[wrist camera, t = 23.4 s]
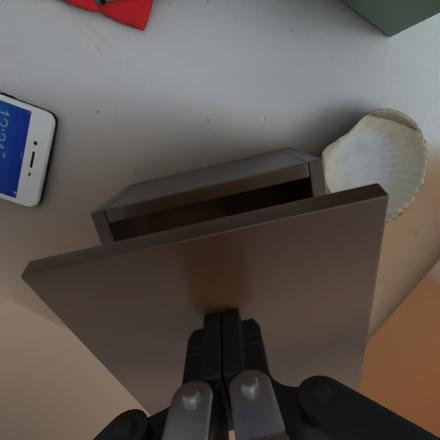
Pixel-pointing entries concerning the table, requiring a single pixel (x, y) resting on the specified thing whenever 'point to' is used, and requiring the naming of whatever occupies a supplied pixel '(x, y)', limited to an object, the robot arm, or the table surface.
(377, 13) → the stand
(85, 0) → the toy figure
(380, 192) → the lid
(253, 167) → the chest
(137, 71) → the table surface
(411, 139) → the seashell
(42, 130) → the smartphone
